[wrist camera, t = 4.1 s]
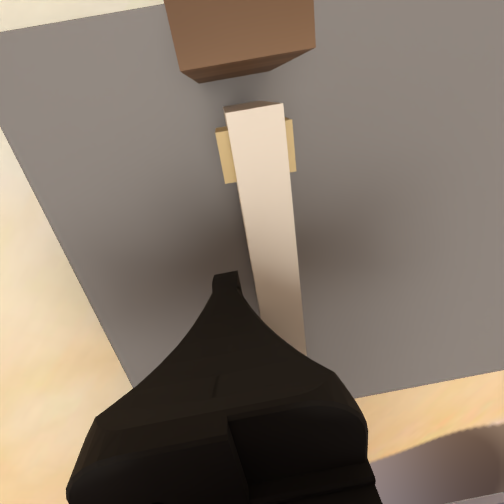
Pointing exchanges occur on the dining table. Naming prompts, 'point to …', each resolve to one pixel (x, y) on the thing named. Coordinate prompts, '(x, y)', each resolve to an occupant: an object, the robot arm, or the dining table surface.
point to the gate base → (302, 180)
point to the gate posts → (238, 35)
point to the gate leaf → (266, 208)
